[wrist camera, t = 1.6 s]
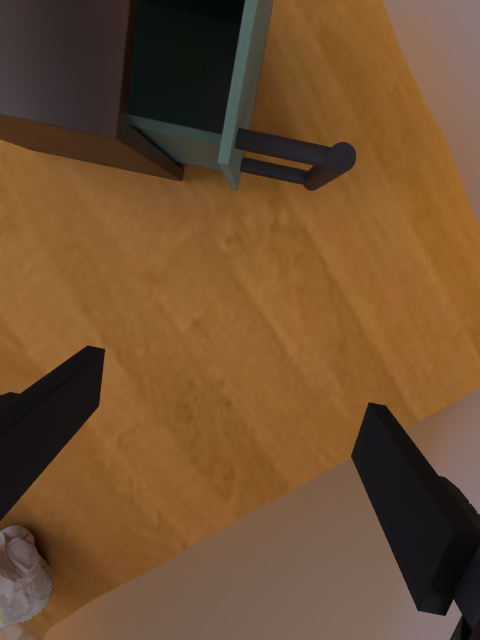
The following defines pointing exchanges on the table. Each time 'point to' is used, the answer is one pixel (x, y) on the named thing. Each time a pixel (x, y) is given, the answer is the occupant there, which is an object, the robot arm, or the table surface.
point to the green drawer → (214, 92)
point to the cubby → (73, 83)
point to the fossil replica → (22, 577)
